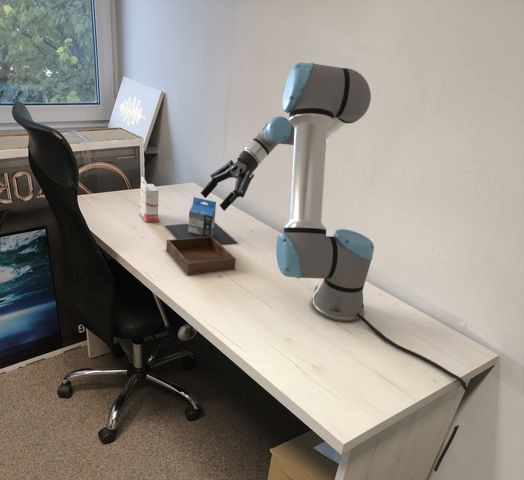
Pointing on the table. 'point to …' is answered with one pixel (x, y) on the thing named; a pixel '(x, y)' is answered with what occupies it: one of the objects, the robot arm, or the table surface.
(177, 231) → the mat
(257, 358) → the table surface
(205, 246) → the wooden tray
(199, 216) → the blue gray retail box
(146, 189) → the ink cartridge box
